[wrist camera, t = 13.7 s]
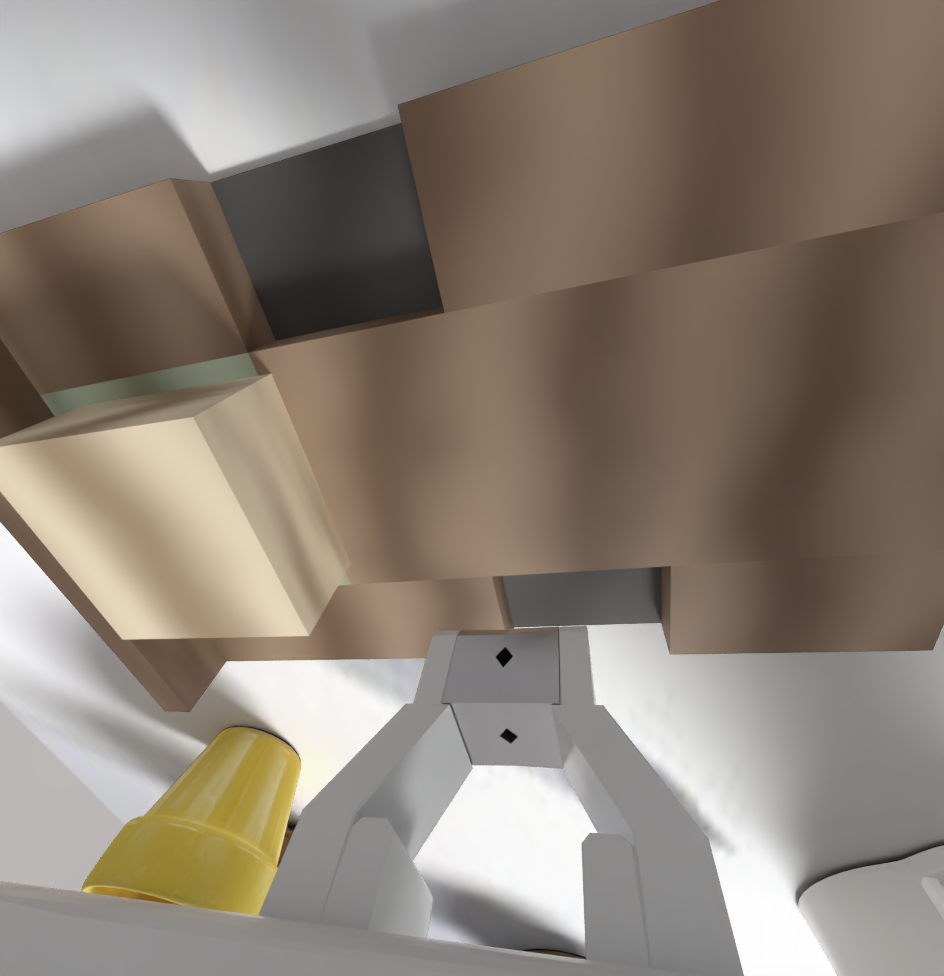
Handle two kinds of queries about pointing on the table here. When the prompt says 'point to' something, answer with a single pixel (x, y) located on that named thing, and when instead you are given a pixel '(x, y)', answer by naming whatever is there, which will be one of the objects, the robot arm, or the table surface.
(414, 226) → the box
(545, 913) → the table surface
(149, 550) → the maple block
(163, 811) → the plant pot
